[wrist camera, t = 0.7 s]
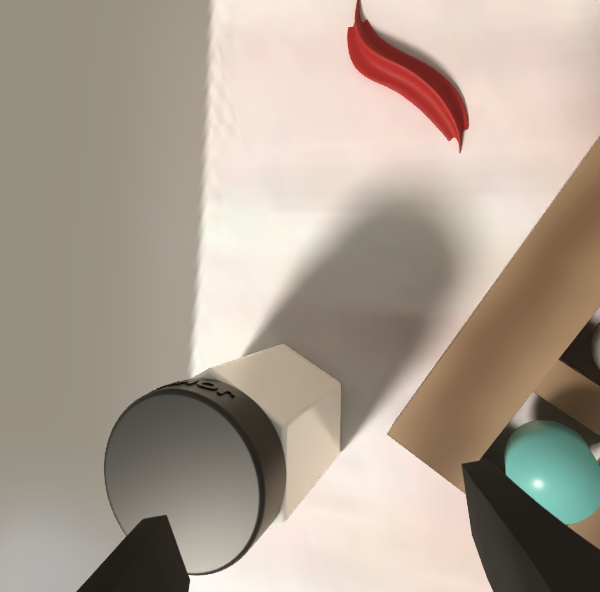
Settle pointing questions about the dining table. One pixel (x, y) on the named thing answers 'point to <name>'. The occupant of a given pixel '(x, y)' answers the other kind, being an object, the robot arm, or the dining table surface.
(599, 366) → the graphite key
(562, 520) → the teal rounded piece
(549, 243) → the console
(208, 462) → the jar
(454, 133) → the cayenne pepper
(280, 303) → the dining table surface
